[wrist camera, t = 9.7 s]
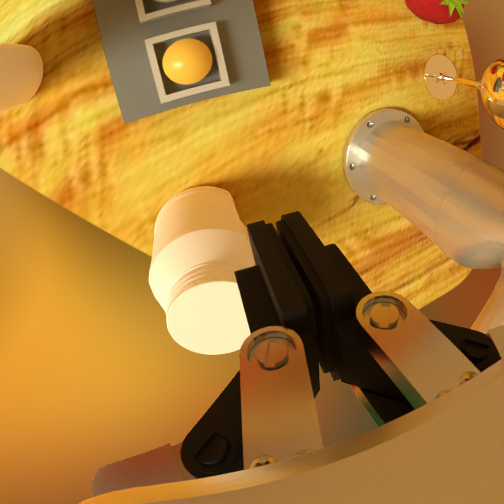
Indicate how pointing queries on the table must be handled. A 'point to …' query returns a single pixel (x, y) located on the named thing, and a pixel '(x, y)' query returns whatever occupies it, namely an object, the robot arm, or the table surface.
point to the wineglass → (467, 84)
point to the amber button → (187, 61)
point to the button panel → (168, 32)
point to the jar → (201, 269)
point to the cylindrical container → (18, 74)
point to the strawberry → (437, 10)
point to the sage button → (165, 1)
